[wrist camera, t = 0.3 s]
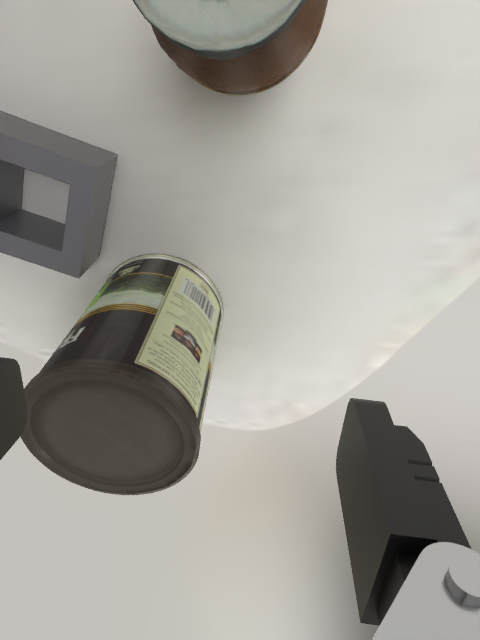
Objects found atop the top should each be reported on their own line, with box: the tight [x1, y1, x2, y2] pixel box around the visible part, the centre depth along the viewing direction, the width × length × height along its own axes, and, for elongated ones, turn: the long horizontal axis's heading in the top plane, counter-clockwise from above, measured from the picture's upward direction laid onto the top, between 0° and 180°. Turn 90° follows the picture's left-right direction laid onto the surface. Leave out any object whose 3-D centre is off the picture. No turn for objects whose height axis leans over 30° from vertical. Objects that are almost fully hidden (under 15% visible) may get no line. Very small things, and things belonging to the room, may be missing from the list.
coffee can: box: [20, 254, 223, 495], centre depth 29 cm, size 10×10×14 cm
